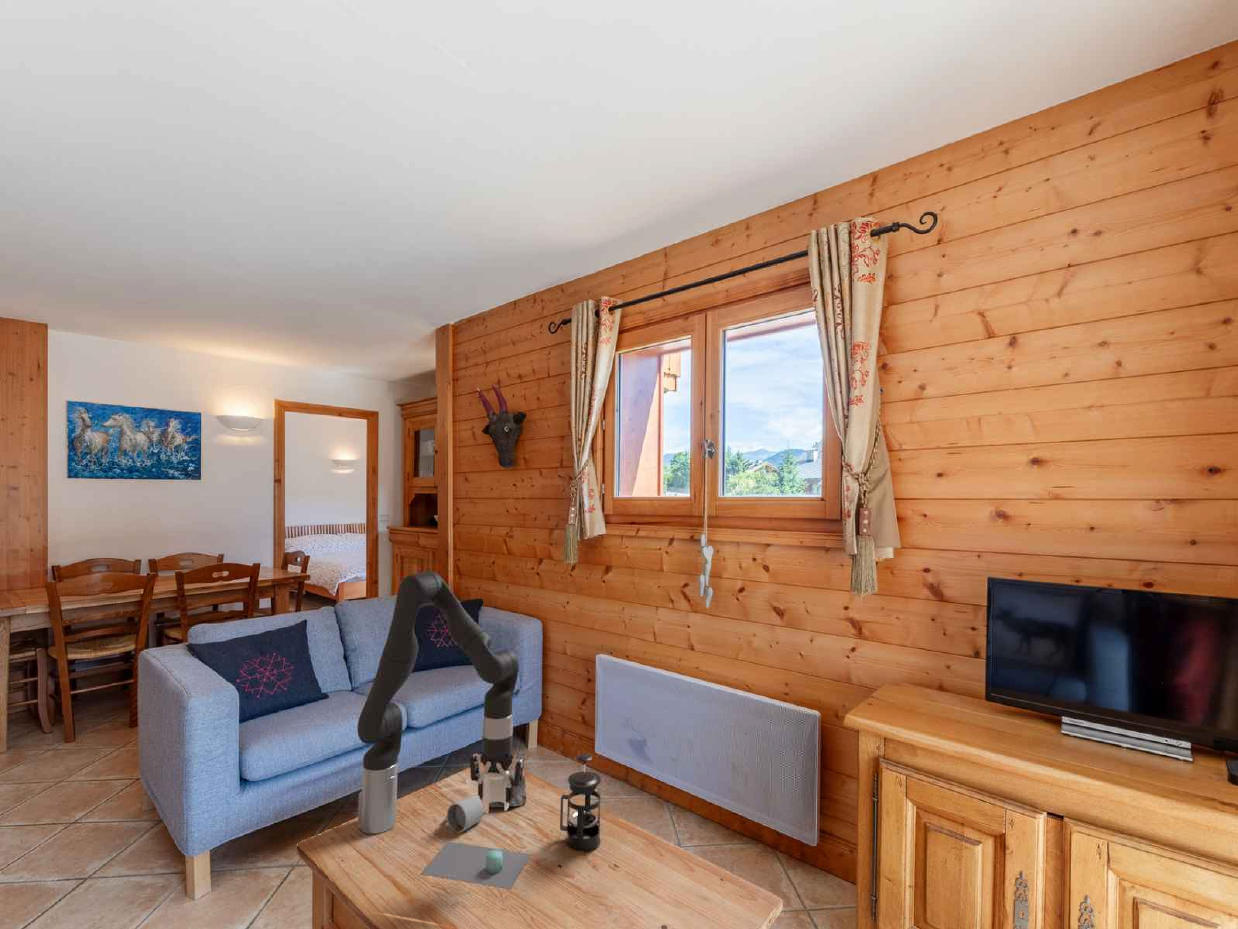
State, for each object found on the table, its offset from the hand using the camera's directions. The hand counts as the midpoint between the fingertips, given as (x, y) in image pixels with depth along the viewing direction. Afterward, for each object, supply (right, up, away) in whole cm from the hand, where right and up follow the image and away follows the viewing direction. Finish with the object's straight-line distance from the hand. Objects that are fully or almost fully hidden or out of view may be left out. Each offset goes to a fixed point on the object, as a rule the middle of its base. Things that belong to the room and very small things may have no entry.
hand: (495, 799), depth 150 cm
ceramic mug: (-14, -18, +19) cm, 30 cm away
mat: (-5, -18, +1) cm, 18 cm away
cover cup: (0, -2, 0) cm, 2 cm away
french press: (+21, -19, +12) cm, 31 cm away
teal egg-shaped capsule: (0, -17, -1) cm, 17 cm away
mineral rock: (-4, -19, +31) cm, 37 cm away
